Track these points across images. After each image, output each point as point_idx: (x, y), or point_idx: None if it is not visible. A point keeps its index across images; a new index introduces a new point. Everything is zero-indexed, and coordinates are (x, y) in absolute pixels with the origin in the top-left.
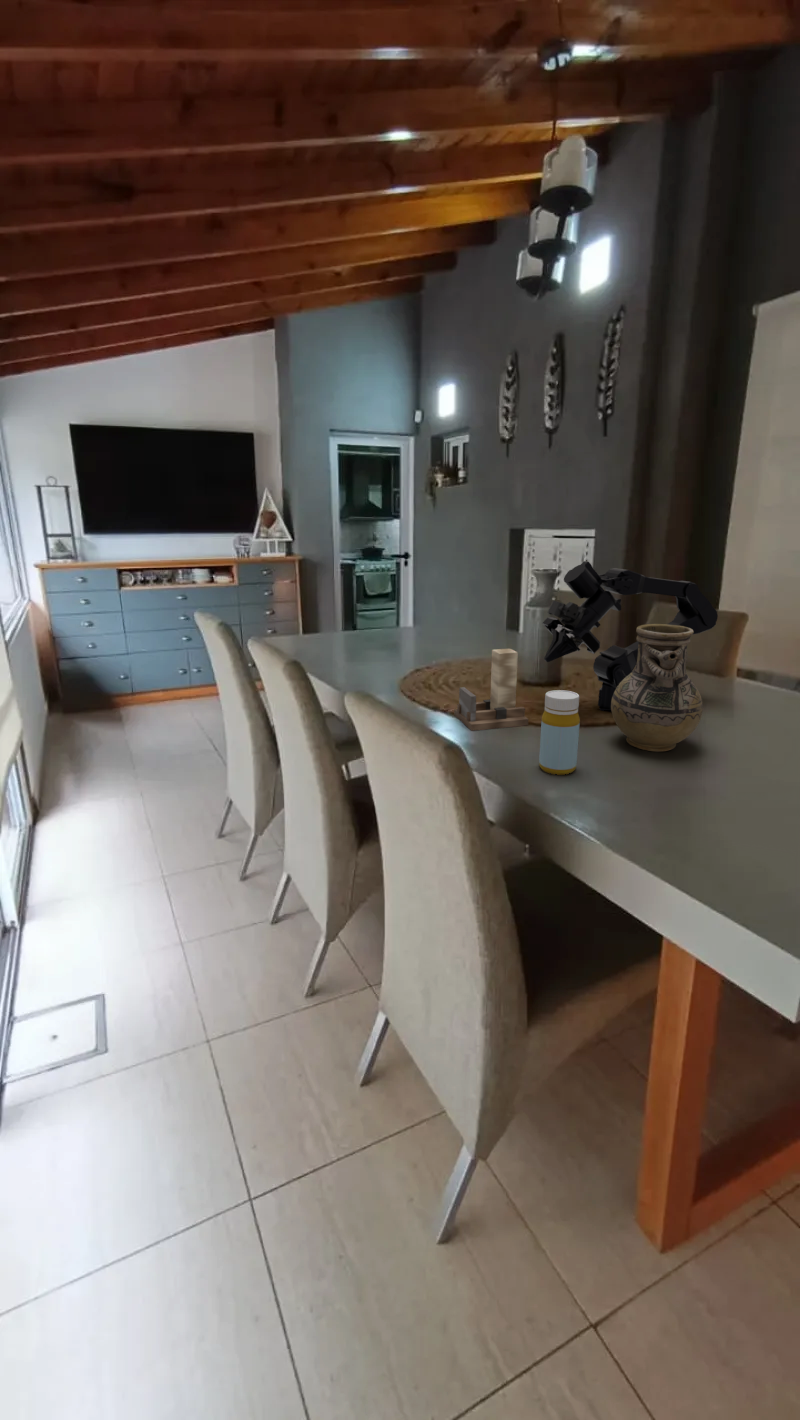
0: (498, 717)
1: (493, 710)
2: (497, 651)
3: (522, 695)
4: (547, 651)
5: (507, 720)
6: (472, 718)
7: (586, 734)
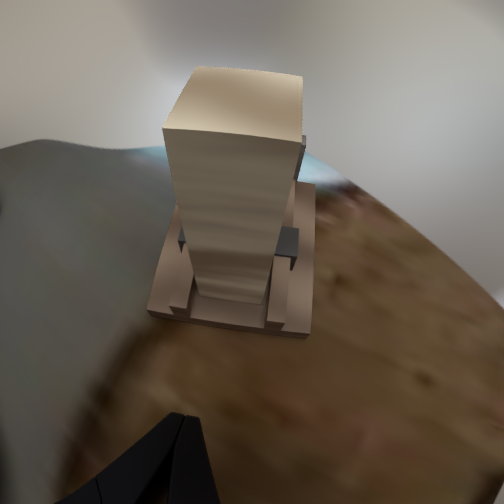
0: None
1: None
2: (250, 75)
3: (424, 449)
4: (206, 464)
5: (167, 250)
6: None
7: (30, 398)
